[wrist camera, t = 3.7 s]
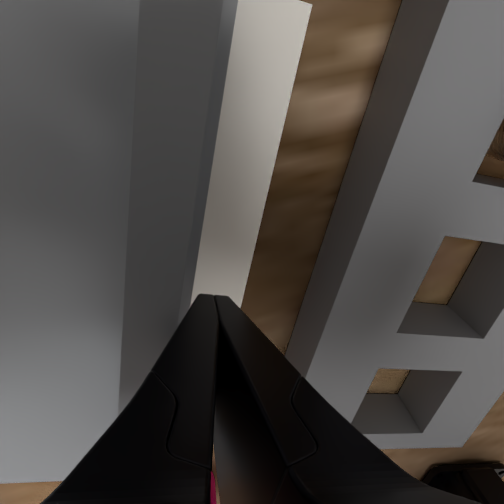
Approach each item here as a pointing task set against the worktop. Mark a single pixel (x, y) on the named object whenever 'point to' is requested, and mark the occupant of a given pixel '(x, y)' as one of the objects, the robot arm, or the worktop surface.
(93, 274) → the cover
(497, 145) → the pin
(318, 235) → the worktop surface
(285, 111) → the plate
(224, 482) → the robot arm
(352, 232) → the hole board
